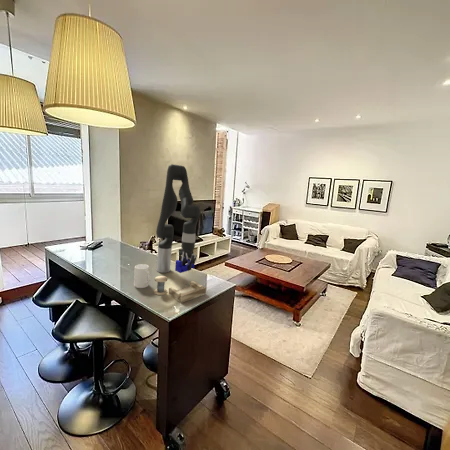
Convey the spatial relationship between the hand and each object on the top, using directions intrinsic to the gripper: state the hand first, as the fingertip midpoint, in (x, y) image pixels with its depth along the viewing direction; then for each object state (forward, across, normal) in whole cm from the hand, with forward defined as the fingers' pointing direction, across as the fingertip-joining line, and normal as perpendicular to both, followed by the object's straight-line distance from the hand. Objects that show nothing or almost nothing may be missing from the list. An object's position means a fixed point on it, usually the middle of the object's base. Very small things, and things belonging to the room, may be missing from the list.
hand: (186, 268), depth 145 cm
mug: (+15, -21, -15) cm, 30 cm away
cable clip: (+1, 0, 0) cm, 1 cm away
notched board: (+15, +3, 0) cm, 15 cm away
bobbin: (+15, -8, -11) cm, 20 cm away
